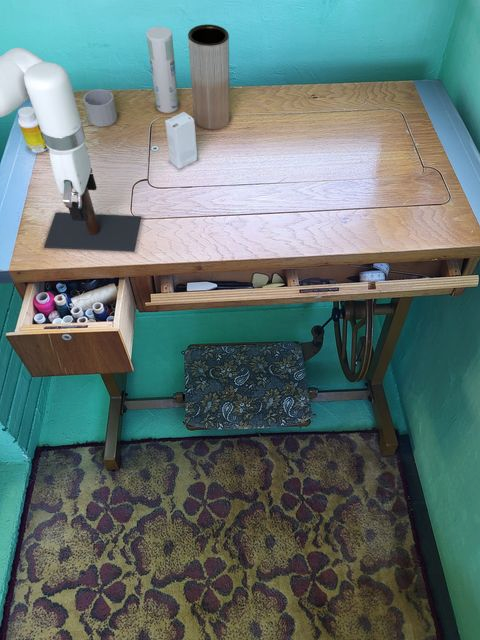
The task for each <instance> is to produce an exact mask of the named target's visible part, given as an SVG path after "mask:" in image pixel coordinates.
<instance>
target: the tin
mask: <svg viewBox="0 0 480 640" xmlns="http://www.w3.org/2000/svg"><path fill="white" fill-rule="evenodd" d="M82 100H83V104H84V108H85V112H86V115H87V120H88V122H89V124H91V125H93V126H95V127H101V128H102V127H108V126H111V125H113V124H115V123H116V122H117V121H118V113H117V107H116V102H115V98H114V95H113V93H112V92H111V91H110V90H107V89H99V88H98V89H93V90H89V91H87V92H86V93H85V94H84V95H83V98H82Z"/></svg>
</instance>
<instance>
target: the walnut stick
mask: <svg viewBox="0 0 480 640" xmlns="http://www.w3.org/2000/svg"><path fill="white" fill-rule="evenodd" d="M81 199H82V205H84V207H85V211H86V214H87V217H88V220H87V221H85V223H86V226H87V229H88V232H89V234H91V235H96V234H98V233H99V232H100V228H99V225H98V221H97V218H96V215H95V214H96V212H95V208H94V205H93V200H92V198H91V195H90V190H88V188H87V187H86V188H85V191H84V193H83V194H82V195H81Z"/></svg>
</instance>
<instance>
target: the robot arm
mask: <svg viewBox="0 0 480 640" xmlns="http://www.w3.org/2000/svg"><path fill="white" fill-rule="evenodd" d="M70 79H71V78H70V75H69V74H68V72H67V70H66V69H65V67H63V66H62V65H60V64H58V63H56V62H50V61H49V62H48V61H45V60H43V58H41V57H39V56H38V55H37V54H35V53H33V52H32V51H30V50H28V49H26V48H25V47H14V48H11V49H9V50H8V51H6V52H4V53H3V54H2V55H0V118H3V117H6V116H8V115H10V114H12V113H13V112H14V111H15V110H17V109H18V108H19V107H20V106H22V104H24V103H25V102H26V101H28V100H30V103H31V107H32V108H33V109H34V112H35V115H36V118H37V121H38V124H39V127H40V129H41V132H42V135H43V138H44V141H45V144H46V146H47V148H48V149H47V150H48V153H49V161H50V165H51V169H52V174H53V177H54V180H55V184H56V187H57V191H58V193H59V194H60V195H61V196H63V197H62V198H63V199H62V202H63V204H64V206H65V207H66V208H67V209H68V211H69V213H70V214H71V217H72V220H74V221H87V220H88V217H87V214H86V211H85V207H84V205H82V199H81V195H82V194H83V193H84V191H85V188H86V187H87V188H88V191H97V188H98V187H97V184H96V180H95V176H94V174H93V167H92V162H91V159H90V155H89V154H90V153H89V150H88V146H87V144H86V140H87V138H86V134H85V131H84V127H83V123H82V120H81V116H80V112H79V109H78V104H77V102H76V97H75V93H74V90H73V86H72V82H71V80H70ZM73 189H74V191H73ZM73 196H76V201H73Z"/></svg>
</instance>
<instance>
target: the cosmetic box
mask: <svg viewBox="0 0 480 640" xmlns="http://www.w3.org/2000/svg"><path fill="white" fill-rule="evenodd" d="M164 124H165V132H166V139H167V146H168V155H169V161H170V163H172V164H173V165H174V166H175V167H177V169H179V170H180V169H182V168H185V167H187V166H188V165H190V164H192V163H194V162H196V161H198V149H197V137H196V125H195V124H196V122H195V120H194V117H192V116H191V115H190V114H188V113H186V112H185V111H182V112H181V113H178V114H176V115H174V116H172V117H170V118H168V119H165V120H164Z"/></svg>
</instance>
